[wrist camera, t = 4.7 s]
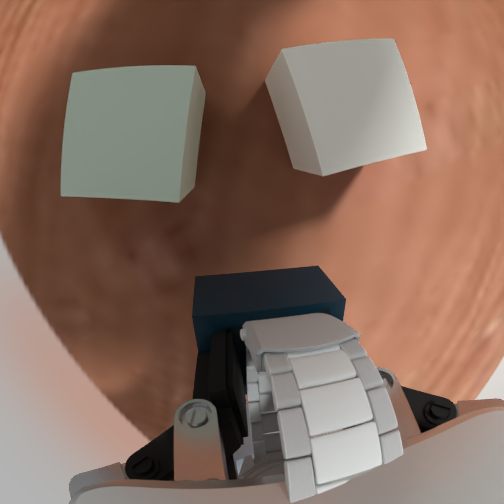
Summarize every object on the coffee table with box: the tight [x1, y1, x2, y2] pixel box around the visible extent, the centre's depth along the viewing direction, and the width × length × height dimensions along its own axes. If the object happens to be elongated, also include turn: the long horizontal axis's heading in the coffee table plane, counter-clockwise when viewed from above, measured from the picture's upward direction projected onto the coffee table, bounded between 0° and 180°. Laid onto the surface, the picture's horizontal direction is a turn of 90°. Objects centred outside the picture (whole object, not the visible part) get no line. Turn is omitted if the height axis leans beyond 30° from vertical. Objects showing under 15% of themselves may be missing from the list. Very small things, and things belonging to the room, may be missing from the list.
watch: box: [192, 266, 403, 503], centre depth 8 cm, size 6×8×11 cm
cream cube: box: [265, 39, 427, 176], centre depth 11 cm, size 5×5×5 cm
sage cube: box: [61, 65, 206, 203], centre depth 11 cm, size 5×5×5 cm
